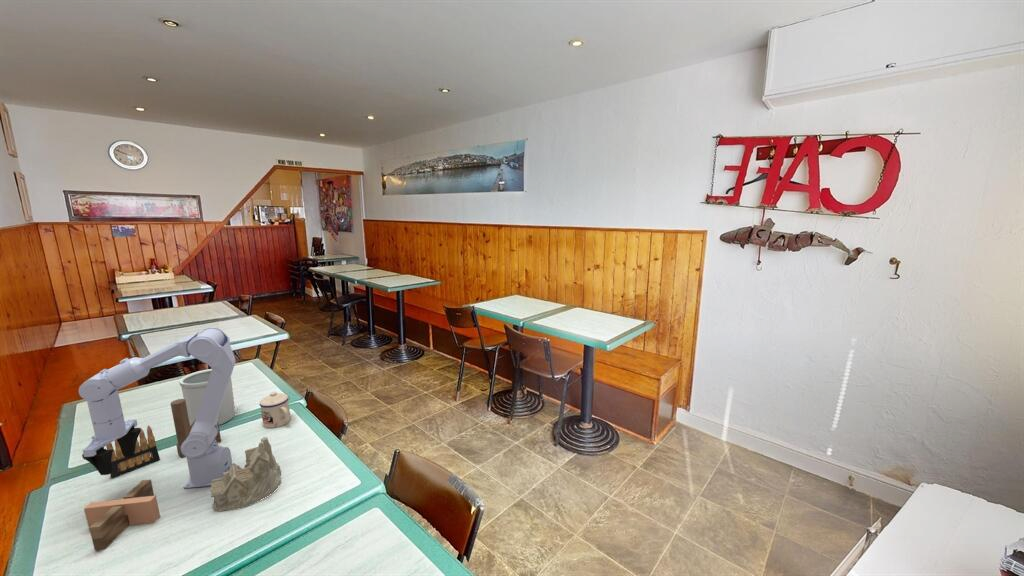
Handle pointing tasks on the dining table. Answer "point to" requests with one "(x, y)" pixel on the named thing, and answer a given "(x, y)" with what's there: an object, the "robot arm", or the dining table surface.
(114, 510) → the slotted base plate
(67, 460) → the dining table surface
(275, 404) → the teacup with lid
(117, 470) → the ammunition clip
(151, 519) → the cross plate
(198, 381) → the utensil holder
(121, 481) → the dining table surface
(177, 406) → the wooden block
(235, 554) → the dining table surface
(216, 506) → the ceramic cottage
